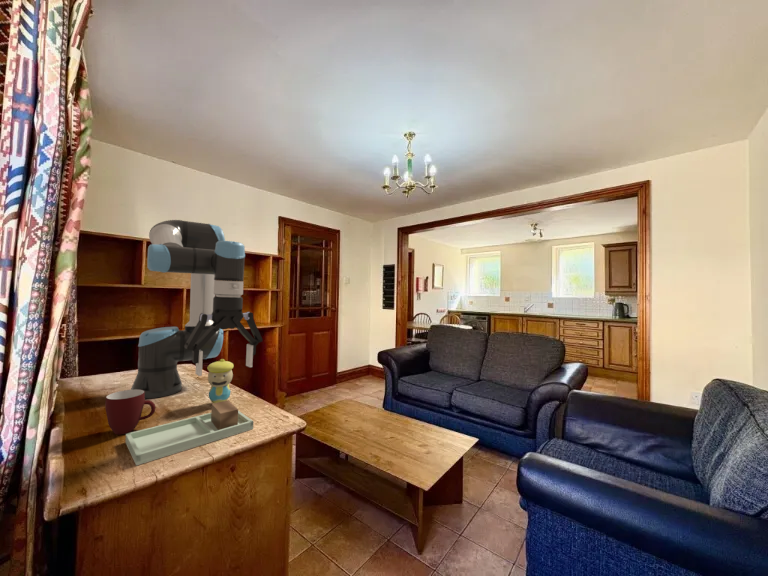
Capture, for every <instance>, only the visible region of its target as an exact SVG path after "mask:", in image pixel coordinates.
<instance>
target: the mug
mask: <svg viewBox="0 0 768 576" xmlns="http://www.w3.org/2000/svg"><path fill="white" fill-rule="evenodd" d="M144 405H149V407H150V412H149V413H148V414H147V415H144V416H142V413H143V410H144V409H143V408H144ZM104 406H105V412H106V418H107V423H108V426H109V428H110V429H111V430H112V432H113V433H114V435H119V436H121V435H126V434H127V433H131V432H134V431H135V429H136V428H137V425H139V422H140V421H142V420H146V419H148V418H151V417H152V416H153V415H154V413H155V412H156V404H155V403H154V401H152V400H149V399H148V400H146V398H145V391H143V390H138V389H134V390H131V389H125V390H119V391H115V392H112V393H110V394H108V395H106V396H105V404H104Z"/></svg>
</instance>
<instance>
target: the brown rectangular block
mask: <svg viewBox="0 0 768 576" xmlns="http://www.w3.org/2000/svg"><path fill="white" fill-rule="evenodd" d="M238 411H239V409H238V408H237V407H236V406H235V405H234V404H233V403H232V402H231V401H230V400H229V399H227V401H222V402H217V403H212V402H211V412H210V413H211V421H212V423H213V424H214V425H215V427H216V428H217V429H218V430H221V429H224V428H228V427H231V426H234V425H238Z"/></svg>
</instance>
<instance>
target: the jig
mask: <svg viewBox="0 0 768 576" xmlns="http://www.w3.org/2000/svg"><path fill="white" fill-rule="evenodd" d="M253 429H254V420H253V419H251V418H250V417H249V416H247V415H246V414H244V413H243V412H241V411H240V410H238V425H234V426H231V427H228V428H224V429H221V430H218V429H217V428H216V427H215V425H214V424H213V423H212V421H211V412H209V413H204V414H200V415H196V416H191V417H188V418H183V419H180V420H177V421H171V422H168V423H164V424H159V425H156V426H152V427H148V428H143V429H139V430H134V431H132V432H129V433H126V434H125V445H126V446H127V449H128V451H129V453H130V455H131V457H132V459H133V462H134V464H135V467H137V466H139V465H143V464H145V463H149V462H153V461H155V460H160V459H162V458H165V457H168V456H172V455H175V454H179V453H181V452H183V451H188V450H190V449H194V448H197V447H200V446H204V445H206V444H210V443H213V442H216V441H219V440H223V439H226V438H229V437H231V436H235V435H239V434H241V433H245V432H248V431H251V430H253Z"/></svg>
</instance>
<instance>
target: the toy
mask: <svg viewBox="0 0 768 576" xmlns="http://www.w3.org/2000/svg"><path fill="white" fill-rule="evenodd" d="M206 368H207V371H208V374H207V381H208V384H209V385H210V386H211V387H210V389H209V392H208V398H209V400H210V402H211V404H212V403H217V402H222V401H227V400H229V398H230V396H231V393H232V392H231V388H230V383H231V382H232V380H233V377H234V374H233V370H232V369H234V363H233V362H231V361H228V360H227V361H226V360H225V359H224V358H221V359H219V360H218V361H217V360H216V361H214V362H212V363H210V364H209V365H208V366H207V367H206Z"/></svg>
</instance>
